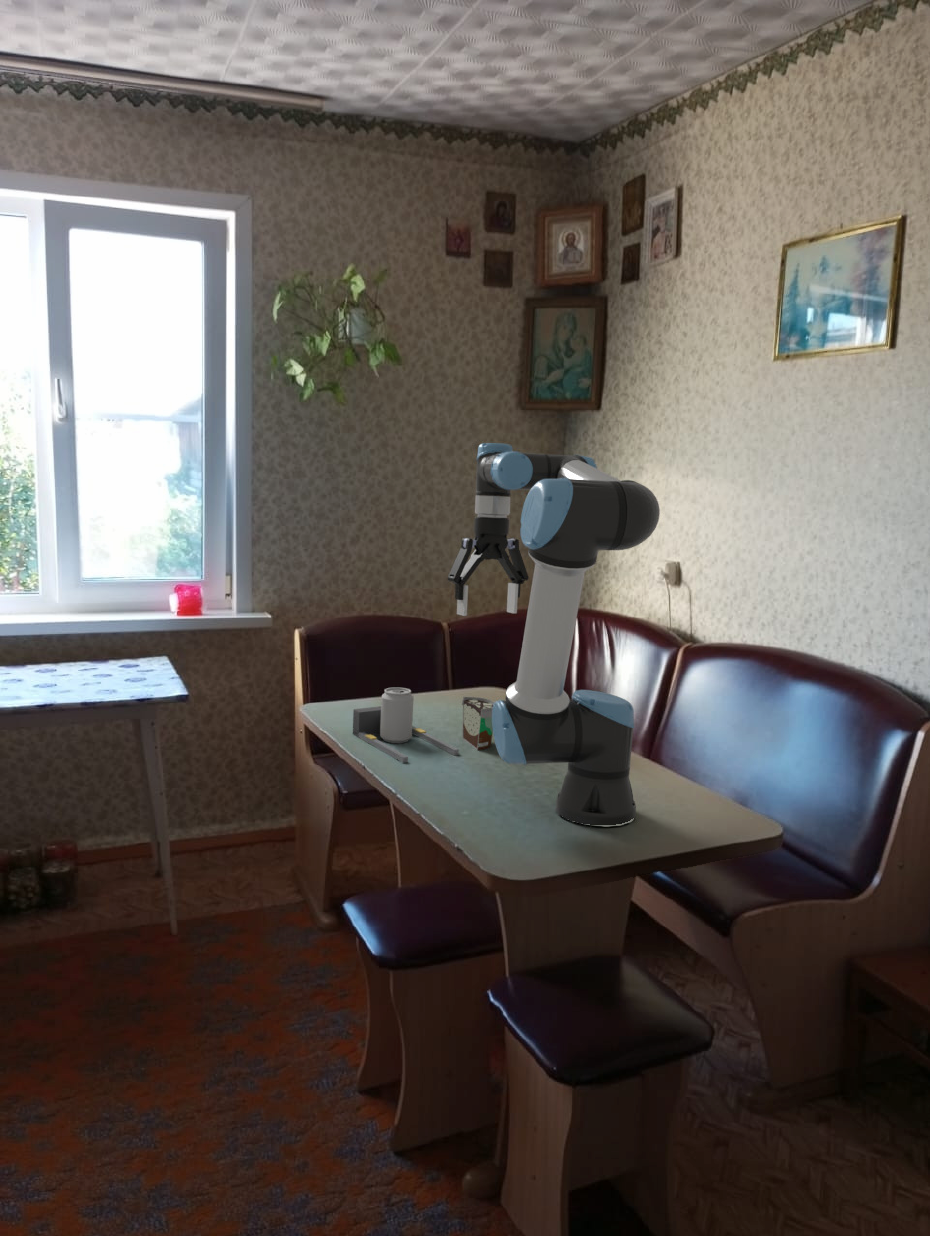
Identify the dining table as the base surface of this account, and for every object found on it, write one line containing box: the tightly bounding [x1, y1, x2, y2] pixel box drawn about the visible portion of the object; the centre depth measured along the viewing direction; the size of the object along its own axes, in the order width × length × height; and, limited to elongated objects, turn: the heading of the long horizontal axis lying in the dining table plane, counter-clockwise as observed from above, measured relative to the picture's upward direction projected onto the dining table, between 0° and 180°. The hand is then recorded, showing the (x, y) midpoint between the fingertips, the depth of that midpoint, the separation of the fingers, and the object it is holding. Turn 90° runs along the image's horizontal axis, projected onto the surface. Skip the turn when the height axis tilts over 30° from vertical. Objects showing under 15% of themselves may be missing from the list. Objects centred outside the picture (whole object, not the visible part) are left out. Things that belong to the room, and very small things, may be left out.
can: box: [379, 687, 414, 744], centre depth 224 cm, size 8×8×12 cm
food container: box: [461, 696, 496, 751], centre depth 224 cm, size 12×6×10 cm, turn 22°
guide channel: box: [352, 705, 460, 764], centre depth 221 cm, size 24×15×6 cm, turn 33°
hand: (487, 614), depth 209 cm, fingers open, 13 cm apart
